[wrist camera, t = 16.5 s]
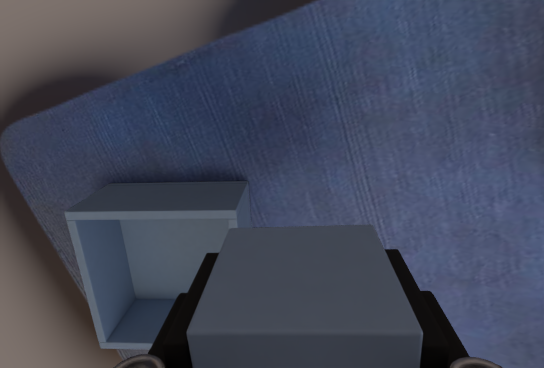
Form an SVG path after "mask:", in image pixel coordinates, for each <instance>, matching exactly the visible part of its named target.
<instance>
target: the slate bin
mask: <svg viewBox="0 0 544 368" xmlns="http://www.w3.org/2000/svg"><path fill="white" fill-rule="evenodd" d="M64 214H65V217H66V220H67V224H68V228H69V232H70V236H71V239H72V243H73V247H74V251H75V254H76V258H77V262H78V266H79V269H80V273H81V277H82V281H83V284H84V288H85V292H86V296H87V299H88V303H89V307H90V310H91V314H92V318H93V322H94V326H95V329H96V333H97V337H98V340H99V344H100V348H108V349H150V348H151V347H152V345H153V343H154V341H155V339H156V337H157V335H158V333H159V331H160V329H161V327H162V325H163V323H164V321H165V319H166V318H167V316H168V314H169V312H170V310H171V308H172V306H173V304H174V302H175V300H176V298H177V297H178V295H179V294H180V293H188V290H189V288H190V286H191V284H192V282H193V280H194V278H195V276H196V274H197V272H198V270H199V268H200V266H201V264H202V261H203V259H204V257H205V255H206V254H207V253H219V252H220V250H221V248H222V245H223V243H224V240H225V238H226V236H227V233H228V231H229V229H231V228H252V225H251V211H250V197H249V182H248V181H219V182H162V183H109V184H108V185H106V186H104V187H103V188H101V189H100V190H98V191H97V192H95V193H93V194H92V195H90V196H89V197H87V198H85V199H84V200H82V201H81V202H79V203H78V204H76V205H74V206H73V207H71V208H70V209H68V210H67V211H65V212H64Z"/></svg>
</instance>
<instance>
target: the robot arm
mask: <svg viewBox="0 0 544 368" xmlns="http://www.w3.org/2000/svg"><path fill="white" fill-rule="evenodd" d="M385 252H386V254H387V256H388V258H389V260H390V263H391V265H392V267H393V269H394V271H395V273H396V276H397V278H398V280H399V282H400V284H401V286H402V288H403V291H404V293H405V295H406V297H407V299H408V301H409V303H410V306H411V308H412V310H413V312H414V314H415V316H416V318H417V321H418V323H419V325H420V327H421V329H422V331H423V340H422V349H421V359H420V368H502V367H501V366H499V365H497V364H495V363H493V362H491V361H488V360H485V359H481V358H476V357H470V356H469V355H468V353H467V351H466V350H465V348H464V346H463V345H462V343H461V341H460V339H459V338H458V336H457V334H456V333H455V331H454V329H453V327H452V326H451V324H450V322H449V321H448V319H447V317H446V315H445V314H444V312H443V310H442V309H441V307H440V305H439V303H438V302H437V300H436V298H435V297H434V295H433V294H432V292H430V291H420V289H419V288H418V286H417V284H416V282H415V280H414V278H413V276H412V275H411V273H410V271H409V269H408V267H407V265H406V263H405V262H404V260H403V258H402V256H401V254H400V252H399V251H398V250H397V249H387V250H385ZM218 255H219V253H207V254H206V255H205V257H204V259H203V261H202V264H201V266H200V268H199V270H198V272H197V274H196V276H195V278H194V280H193V282H192V284H191V286H190V288H189V290H188V293H180V294H179V295H178V297H177V298H176V300H175V302H174V304H173V306H172V308H171V310H170V312H169V314H168V316H167V318H166V319H165V321H164V323H163V325H162V327H161V329H160V331H159V333H158V335H157V337H156V339H155V341H154V343H153V345H152V347H151V348H150V350H149V352H148V354H141V355H136V356H133V357H130V358H128V359H126V360H124V361H122V362H120V363H119V364H118V365H116V366H115V367H114V368H193V366H192V361H191V355H190V350H189V344H188V339H187V329H188V327H189V325H190V322H191V320H192V317H193V315H194V313H195V310H196V308H197V305H198V303H199V301H200V298H201V296H202V293H203V291H204V289H205V286H206V284H207V281H208V279H209V277H210V274H211V272H212V269H213V267H214V264H215V262H216V260H217V257H218Z"/></svg>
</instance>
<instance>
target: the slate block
mask: <svg viewBox="0 0 544 368" xmlns="http://www.w3.org/2000/svg"><path fill="white" fill-rule="evenodd" d="M187 339H188V344H189V350H190V355H191V361H192V366H193V368H420V359H421V349H422V340H423V331H422V329H421V327H420V325H419V323H418V321H417V318H416V316H415V314H414V312H413V310H412V308H411V306H410V303H409V301H408V299H407V297H406V295H405V293H404V291H403V288H402V286H401V284H400V282H399V280H398V278H397V276H396V273H395V271H394V269H393V267H392V265H391V263H390V260H389V258H388V256H387V254H386V252H385V250H384V248H383V245H382V243H381V241H380V239H379V237H378V235H377V233H376V230H375V228H374V226H373V225H340V226H299V227H259V228H231V229H229V231H228V233H227V236H226V238H225V240H224V243H223V245H222V248H221V250H220V252H219V255H218V257H217V260H216V262H215V264H214V267H213V269H212V272H211V274H210V277H209V279H208V281H207V284H206V286H205V289H204V291H203V293H202V296H201V298H200V301H199V303H198V305H197V308H196V310H195V313H194V315H193V317H192V320H191V322H190V325H189V327H188V329H187Z"/></svg>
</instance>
